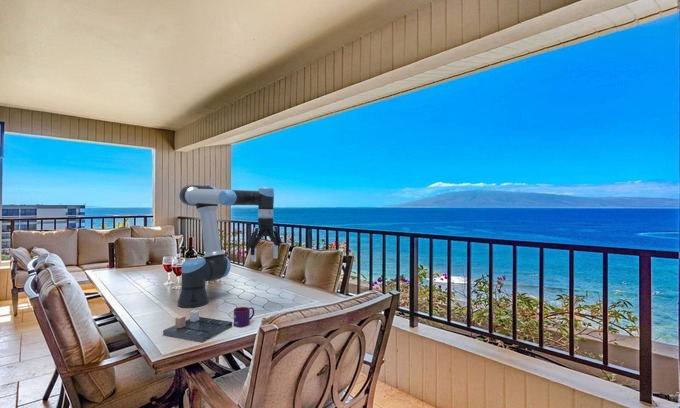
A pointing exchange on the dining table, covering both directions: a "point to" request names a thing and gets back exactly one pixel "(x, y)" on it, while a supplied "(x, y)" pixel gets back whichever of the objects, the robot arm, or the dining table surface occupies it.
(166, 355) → the dining table surface
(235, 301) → the dining table surface
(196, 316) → the fader
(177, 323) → the fader
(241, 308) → the mug
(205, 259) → the robot arm
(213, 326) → the dark grey slider board
